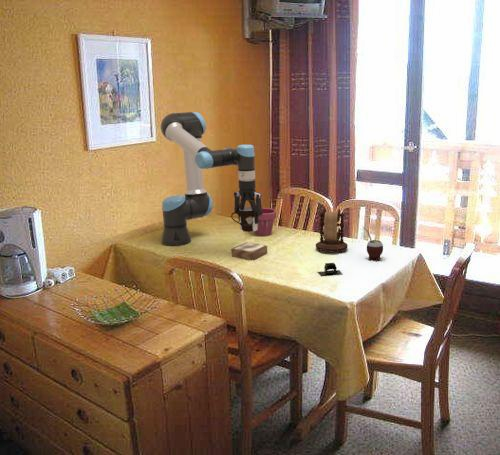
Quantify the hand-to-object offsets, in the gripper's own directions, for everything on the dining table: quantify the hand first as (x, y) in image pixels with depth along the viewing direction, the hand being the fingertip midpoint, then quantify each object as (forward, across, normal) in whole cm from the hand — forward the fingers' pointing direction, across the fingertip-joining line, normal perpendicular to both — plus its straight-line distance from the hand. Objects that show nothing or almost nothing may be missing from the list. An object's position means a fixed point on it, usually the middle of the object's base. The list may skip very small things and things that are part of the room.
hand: (248, 229), depth 232 cm
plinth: (+12, 0, 0) cm, 12 cm away
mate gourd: (+13, +52, +21) cm, 57 cm away
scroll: (+13, +30, +25) cm, 41 cm away
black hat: (+13, +43, -4) cm, 45 cm away
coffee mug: (0, -2, 0) cm, 2 cm away
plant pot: (+13, -14, +34) cm, 39 cm away
